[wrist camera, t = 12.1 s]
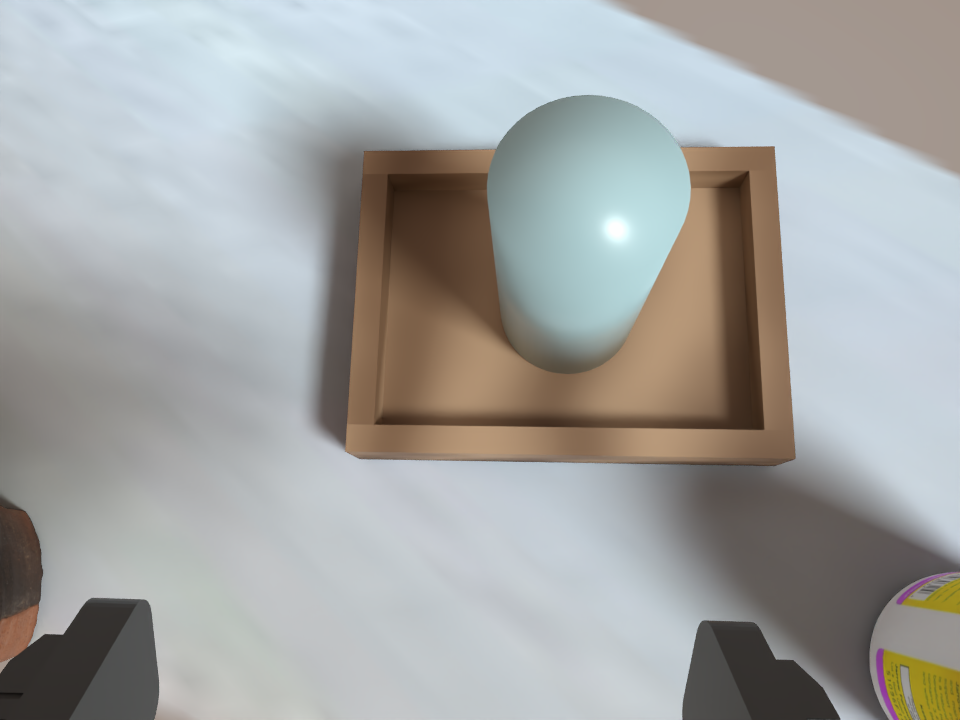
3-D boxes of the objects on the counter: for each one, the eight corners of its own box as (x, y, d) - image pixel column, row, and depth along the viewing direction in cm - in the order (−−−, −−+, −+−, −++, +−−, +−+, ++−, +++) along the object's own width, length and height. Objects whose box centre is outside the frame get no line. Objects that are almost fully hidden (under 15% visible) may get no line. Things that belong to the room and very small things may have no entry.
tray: (360, 458, 31) (345, 451, 29) (376, 179, 34) (364, 151, 32) (774, 466, 30) (795, 458, 28) (756, 175, 33) (774, 146, 30)
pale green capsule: (499, 373, 31) (484, 282, 20) (501, 246, 32) (488, 96, 21) (635, 374, 30) (694, 282, 20) (632, 246, 31) (687, 93, 21)
